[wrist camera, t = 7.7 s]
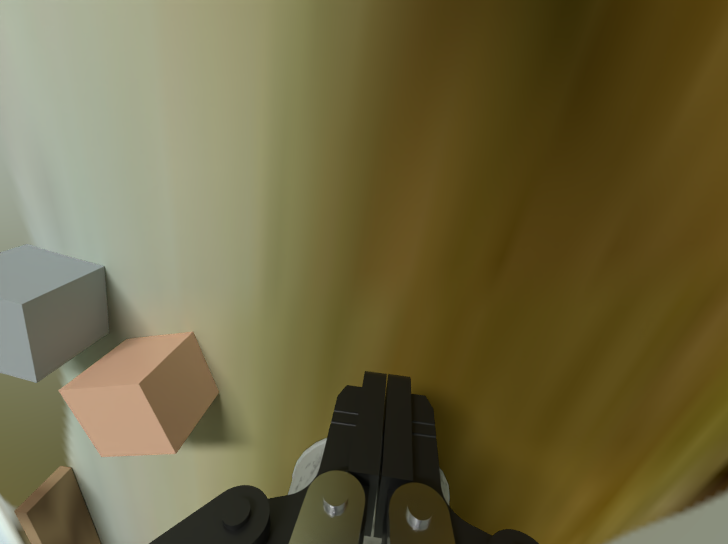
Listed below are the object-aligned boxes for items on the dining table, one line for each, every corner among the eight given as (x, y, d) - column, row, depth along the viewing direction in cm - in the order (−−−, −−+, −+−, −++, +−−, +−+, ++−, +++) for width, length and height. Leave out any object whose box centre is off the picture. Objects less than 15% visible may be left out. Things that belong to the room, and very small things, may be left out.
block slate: (27, 244, 17) (-79, 276, 13) (105, 265, 17) (21, 304, 13) (39, 311, 18) (-53, 358, 15) (110, 331, 18) (36, 382, 15)
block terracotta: (127, 338, 18) (58, 390, 15) (193, 330, 18) (138, 383, 14) (157, 396, 20) (101, 456, 16) (219, 391, 19) (176, 453, 15)
